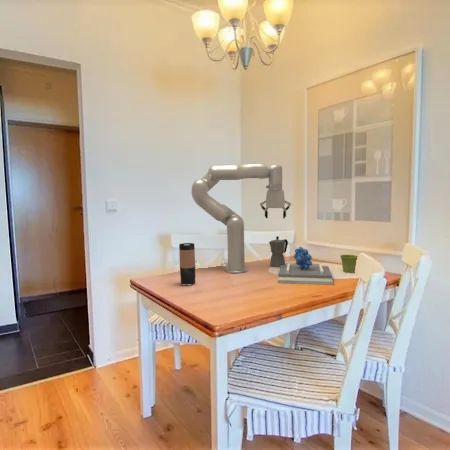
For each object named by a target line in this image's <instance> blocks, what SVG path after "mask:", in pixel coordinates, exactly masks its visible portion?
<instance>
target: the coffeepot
mask: <svg viewBox="0 0 450 450" xmlns="http://www.w3.org/2000/svg"><path fill="white" fill-rule="evenodd" d="M268 244H269V246H270V252H271V257H270V262H269V266H270V267H272V268H280V267H281V265H286V261H285V255H284V253H286V252H287V248H288V245H289V241H288V239H286V238H285V239H279V236H276V237H275V239H273V240H270V241H269V242H268Z"/></svg>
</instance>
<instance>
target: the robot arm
mask: <svg viewBox="0 0 450 450" xmlns="http://www.w3.org/2000/svg"><path fill="white" fill-rule="evenodd" d="M243 179H259V180H263V179H264V180H265V179H268V185H266V186H265V188H266V189H267V191H266V198H265V199H266V200H264V201H262V202H260V203H259V206H260V207H261V209H262V210H263V212H264V217H265V219H268V218H269V216H268V215H269V212H268V210H269V209H282V210H283V211H282V212H283V214H282V218H283V219H286V217H287V212H288V211H287V210H289V209H290V208H291V206H292V203H291V202H290V201H288V200H285V191H284V189H283V166H282V165H281V164H280V165H279V164H273V165H272V164H271V165H269V166H268V165H267V164H262V163H256V164H255V163H252V164H251V163H250V164H214V165H210V167H209V168H208V171H207V172H206V174H204V175H203V177H202V178H199V179H196V180H195V181H193V183H192V185H191V197H192V199H193V201H194V202H195V204H196V205H197V206H198V207H199V208H200V209H202V210H203V211H204V212H205V213H207V214H208V215H209V216H211V217H212V218H213V219H214V220H215V221H217V222H220V223H221V224H223V225H224V226H226V235H227V242H226V243H227V262H226V263H220V267H221V268H225V272H226V273H230V274H242V273H247V272H248V267H245V266H246V265H245V258H246V256H245V222H244V219H243V217H242V216H240V215H239V214H237V213H236V212H235V211H233V210H232V209H231V208H230V207H228V205H226V204H222V203H220V202H219V201H217V200H216V199H215V198H214V197H212V196H211V195H210V194H209V191H211V189H213V188H214V187H215V186H216V185H217V184H218V183H219V182H220V181H239V180H243ZM285 204H286V205H287V207H285ZM264 205H265V206H264Z"/></svg>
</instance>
